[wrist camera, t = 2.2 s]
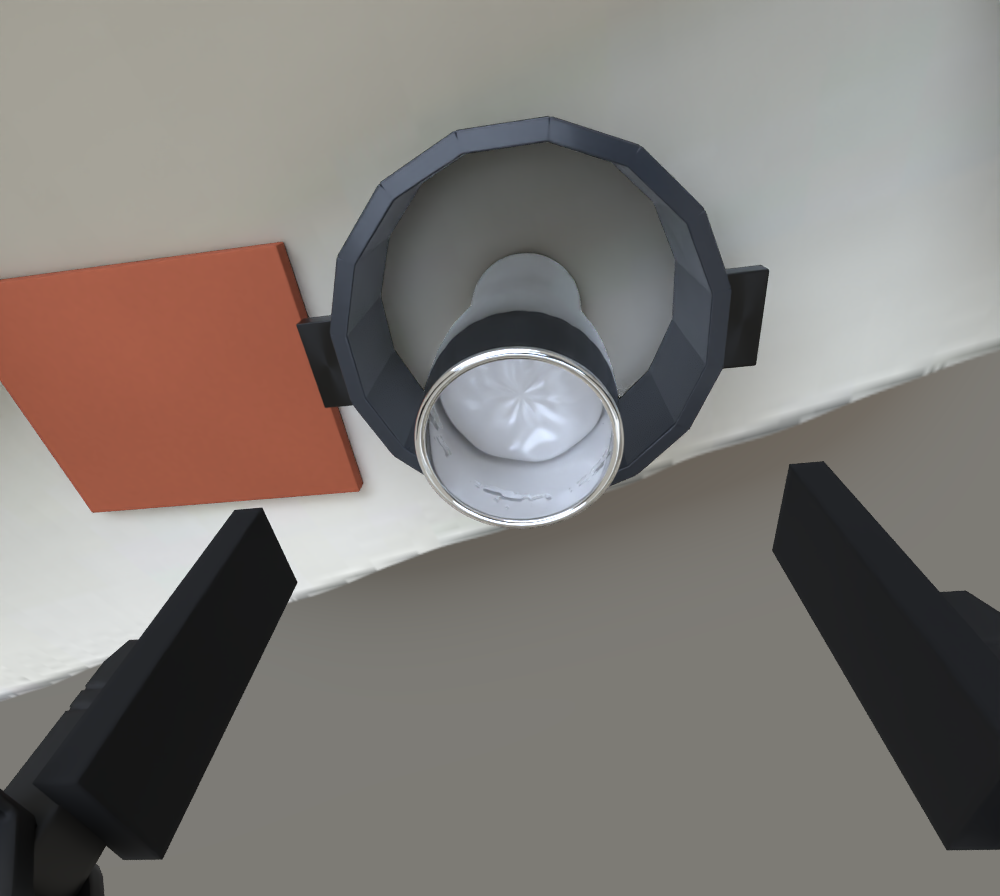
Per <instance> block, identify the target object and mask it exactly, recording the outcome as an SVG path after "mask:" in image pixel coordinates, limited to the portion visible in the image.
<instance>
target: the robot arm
mask: <svg viewBox="0 0 1000 896" xmlns="http://www.w3.org/2000/svg"><path fill="white" fill-rule="evenodd" d="M772 551H773V553H774V554H775V556H776V558H777V560H778V561H779V563H780V565H781V566H782V568H783V570H784V572H785V573H786V575H787V577H788V579H789V580H790V582H791V584H792V585H793V587H794V589H795V591H796V592H797V594H798V596H799V597H800V599H801V601H802V603H803V604H804V606H805V608H806V609H807V611H808V613H809V615H810V616H811V618H812V620H813V621H814V623H815V625H816V627H817V628H818V630H819V632H820V633H821V635H822V637H823V639H824V640H825V642H826V644H827V645H828V647H829V649H830V651H831V652H832V654H833V656H834V657H835V659H836V661H837V662H838V664H839V666H840V668H841V670H842V671H843V673H844V675H845V676H846V678H847V680H848V682H849V683H850V685H851V687H852V688H853V690H854V692H855V693H856V695H857V697H858V699H859V700H860V702H861V704H862V706H863V707H864V709H865V711H866V712H867V714H868V716H869V718H870V719H871V721H872V722H873V724H874V726H875V728H876V730H877V731H878V733H879V734H880V736H881V738H882V740H883V742H884V743H885V745H886V747H887V749H888V750H889V752H890V754H891V755H892V757H893V759H894V761H895V762H896V764H897V766H898V767H899V769H900V771H901V773H902V774H903V776H904V778H905V779H906V781H907V783H908V784H909V786H910V788H911V790H912V791H913V793H914V795H915V797H916V798H917V800H918V802H919V803H920V805H921V807H922V809H923V810H924V812H925V814H926V815H927V817H928V819H929V820H930V822H931V824H932V826H933V827H934V829H935V831H936V832H937V834H938V836H939V838H940V839H941V841H942V843H943V845H944V846H945V848H946V850H999V849H1000V612H999V611H997V610H995V609H994V608H992V607H991V606H989V605H988V604H986V603H984V602H983V601H981V600H980V599H978V598H976V597H975V596H974V595H972V594H970V593H969V592H967V591H952V592H939V591H938V590H937V589H936V587H935V586H934V585H933V584H932V583H931V582H930V581H929V580H928V579H927V577H926V576H925V575H924V574H923V573H922V572H921V571H920V569H919V568H918V567H917V566H916V565H915V564H914V563H913V562H912V560H911V559H910V558H909V557H908V556H907V555H906V554H905V553H904V551H903V550H902V549H901V548H900V547H899V546H898V545H897V544H896V542H895V541H894V540H893V539H892V538H891V537H890V536H889V535H888V533H887V532H886V531H885V530H884V529H883V528H882V527H881V525H880V524H879V523H878V522H877V521H876V520H875V519H874V518H873V516H872V515H871V514H870V513H869V512H868V511H867V510H866V509H865V507H864V506H863V505H862V504H861V503H860V502H859V501H858V500H857V498H855V496H854V495H853V494H852V493H851V492H850V491H849V489H848V488H847V487H846V486H845V485H844V484H843V483H842V482H841V480H840V479H839V478H838V477H837V476H836V475H835V474H834V473H833V471H832V470H831V469H830V468H829V467H828V466H827V465H826V464H825V463H824V461H822V462H810V463H798V464H789V470H788V474H787V479H786V484H785V489H784V494H783V499H782V504H781V509H780V514H779V519H778V524H777V529H776V534H775V540H774V544H773V549H772ZM296 585H297V580H296V578H295V576H294V574H293V572H292V570H291V568H290V565H289V563H288V561H287V559H286V557H285V555H284V553H283V551H282V549H281V546H280V544H279V542H278V540H277V538H276V536H275V534H274V532H273V529H272V527H271V525H270V523H269V521H268V519H267V517H266V515H265V512H264V510H263V508H253V509H241V510H234V512H233V513H232V514H231V516H230V517H229V518H228V520H227V521H226V522H225V524H224V525H223V526H222V528H221V529H220V530H219V532H218V533H217V534H216V536H215V537H214V539H213V540H212V541H211V543H210V544H209V545H208V547H207V548H206V549H205V551H204V552H203V553H202V555H201V556H200V557H199V559H198V560H197V561H196V563H195V564H194V566H193V567H192V568H191V570H190V571H189V572H188V574H187V575H186V576H185V578H184V579H183V580H182V582H181V583H180V584H179V586H178V587H177V588H176V590H175V591H174V593H173V594H172V595H171V597H170V598H169V599H168V601H167V602H166V603H165V605H164V606H163V607H162V609H161V610H160V611H159V613H158V614H157V615H156V617H155V618H154V620H153V621H152V622H151V624H150V625H149V626H148V628H147V629H146V630H145V632H144V633H143V634H142V636H141V637H140V638H139V640H129V641H127V642H126V643H125V644H124V645H123V646H122V647H120V648H119V649H118V650H117V651H116V652H115V653H113V654H112V655H111V656H110V657H109V658H108V659H107V660H105V661H104V662H103V664H102V665H101V666H100V668H99V669H98V670H97V672H96V673H95V674H94V675H93V677H92V678H91V679H90V680H89V682H88V683H87V684H86V689H85V690H82V691H81V692H80V693H79V695H78V696H77V697H76V698H75V700H74V701H73V702H72V704H71V705H70V710H69V711H65V713H64V714H63V715H62V717H61V718H60V719H59V720H58V722H57V723H56V724H55V726H54V727H53V728H52V729H51V731H50V732H49V733H48V735H47V736H46V737H45V739H44V740H43V741H42V742H41V744H40V745H39V746H38V748H37V749H36V750H35V751H34V753H33V754H32V755H31V757H30V758H29V759H28V761H27V762H26V763H25V765H24V766H23V767H22V768H21V769H20V771H19V772H18V773H17V775H16V776H15V777H14V779H13V780H12V781H11V782H10V784H9V785H8V786H7V787H6V789H5V790H4V791H2V790H1V789H0V896H104V885H103V876H102V873H101V870H100V868H99V866H98V865H97V864H96V862H97V861H98V859H99V857H100V855H101V854H102V852H103V850H104V848H105V847H106V846H107V847H108V848H110V849H111V850H112V851H113V852H114V853H116V854H117V855H118V856H119V857H120V858H122V859H123V860H155V859H163V857H164V855H165V853H166V851H167V849H168V847H169V845H170V843H171V841H172V838H173V837H174V834H175V832H176V830H177V828H178V826H179V824H180V822H181V820H182V818H183V816H184V814H185V812H186V810H187V808H188V806H189V804H190V802H191V800H192V798H193V796H194V794H195V792H196V789H197V787H198V785H199V783H200V781H201V779H202V777H203V775H204V773H205V771H206V769H207V767H208V765H209V763H210V761H211V758H212V757H213V755H214V752H215V750H216V748H217V746H218V744H219V742H220V740H221V738H222V736H223V734H224V732H225V730H226V728H227V726H228V724H229V722H230V720H231V717H232V716H233V714H234V711H235V710H236V707H237V705H238V703H239V701H240V699H241V697H242V695H243V693H244V691H245V689H246V687H247V685H248V683H249V681H250V679H251V677H252V675H253V673H254V671H255V669H256V667H257V664H258V662H259V660H260V658H261V656H262V654H263V652H264V650H265V648H266V646H267V644H268V642H269V640H270V638H271V636H272V634H273V632H274V630H275V627H276V626H277V623H278V621H279V619H280V617H281V615H282V613H283V611H284V609H285V607H286V605H287V603H288V601H289V599H290V597H291V595H292V593H293V591H294V589H295V587H296Z"/></svg>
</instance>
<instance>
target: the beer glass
mask: <svg viewBox="0 0 1000 896" xmlns="http://www.w3.org/2000/svg"><path fill="white" fill-rule="evenodd" d="M415 449H416V454H417V458H418V462H419V464H420V467H421V469H422V472H423V474H424V475H425V477H426V479H427V481H428V482H429V484H430V485H431V486H432V488H433V489H434V490H435V491H436V492H437V494H438V495H439V496H440V497H441V498H442V499H443V500H445V501H446V502H447V503H448V504H449V505H451V506H452V507H453V508H455V509H456V510H458V511H459V512H461V513H463V514H464V515H466V516H468V517H470V518H473V519H475V520H477V521H480V522H483V523H486V524H489V525H493V526H498V527H504V528H515V529H526V528H537V527H544V526H548V525H552V524H556V523H559V522H561V521H564V520H567V519H569V518H571V517H573V516H575V515H577V514H579V513H580V512H582V511H584V510H585V509H587V508H588V507H589V506H591V505H592V504H593V503H594V502H595V501H596V500H598V498H599V497H601V495H602V494H603V493H604V492H605V491H606V490H607V488H608V487H609V486H610V484H611V483H612V481H613V479H614V477H615V476H616V473H617V471H618V469H619V466H620V463H621V460H622V456H623V450H624V429H623V423H622V419H621V416H620V408H619V399H618V392H617V386H616V381H615V377H614V373H613V369H612V365H611V361H610V358H609V356H608V353H607V351H606V349H605V346H604V344H603V342H602V339H601V337H600V335H599V334H598V332H597V330H596V329H595V328H594V326H593V325H592V324H591V322H590V321H589V320H588V318H587V317H586V316H585V315H584V313H583V312H582V311H581V300H580V294H579V291H578V288H577V285H576V283H575V281H574V279H573V278H572V276H571V275H570V274H569V273H568V271H567V270H566V269H565V268H564V267H563V266H561V265H560V264H559V263H557V262H556V261H554V260H553V259H551V258H549V257H546V256H544V255H540V254H535V253H518V254H513V255H510V256H507V257H504V258H502V259H500V260H498V261H497V262H495V263H494V264H493V265H491V266H490V267H489V268H488V269H487V270H486V271H485V272H484V273H483V275H482V276H481V277H480V279H479V281H478V283H477V285H476V287H475V289H474V292H473V296H472V302H471V306H470V307H469V308H468V309H467V310H466V311H465V312H464V313H463V314H462V315H461V316H460V317H459V318H458V319H457V320H456V322H455V323H454V324H453V325H452V327H451V328H450V330H449V331H448V333H447V334H446V336H445V338H444V340H443V342H442V344H441V345H440V347H439V349H438V351H437V353H436V356H435V358H434V361H433V364H432V367H431V369H430V372H429V375H428V379H427V383H426V387H425V391H424V395H423V400H422V404H421V407H420V409H419V412H418V415H417V419H416V424H415Z"/></svg>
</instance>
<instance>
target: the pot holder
mask: <svg viewBox="0 0 1000 896" xmlns="http://www.w3.org/2000/svg"><path fill="white" fill-rule="evenodd" d="M303 318H308V316H307V313H306V310H305V307H304V304H303V301H302V298H301V295H300V292H299V289H298V286H297V283H296V279H295V276H294V273H293V270H292V267H291V264H290V261H289V258H288V255H287V252H286V249H285V246H284V243H283V242H277V243H270V244H262V245H255V246H248V247H240V248H233V249H225V250H218V251H210V252H203V253H196V254H188V255H181V256H173V257H166V258H158V259H151V260H144V261H136V262H129V263H121V264H114V265H106V266H99V267H92V268H84V269H77V270H69V271H62V272H54V273H47V274H40V275H32V276H25V277H17V278H10V279H2V280H0V381H1V382H2V384H3V385H4V387H5V388H6V390H7V391H8V392H9V394H10V395H11V397H12V398H13V400H14V401H15V402H16V404H17V405H18V407H19V408H20V410H21V411H22V412H23V414H24V415H25V417H26V418H27V420H28V421H29V422H30V424H31V425H32V427H33V428H34V430H35V431H36V433H37V434H38V435H39V437H40V438H41V440H42V441H43V443H44V444H45V445H46V447H47V448H48V450H49V451H50V453H51V454H52V455H53V457H54V458H55V460H56V461H57V463H58V464H59V466H60V467H61V468H62V470H63V471H64V473H65V474H66V476H67V477H68V478H69V480H70V481H71V483H72V484H73V486H74V487H75V488H76V490H77V491H78V493H79V494H80V496H81V497H82V498H83V500H84V501H85V503H86V504H87V506H88V507H89V509H90V510H91V511H92V512H93V513H95V512H108V511H121V510H133V509H146V508H158V507H171V506H183V505H196V504H208V503H221V502H233V501H246V500H258V499H271V498H283V497H296V496H308V495H321V494H334V493H346V492H359V491H360V489H361V487H362V484H363V482H362V479H361V476H360V473H359V470H358V467H357V463H356V460H355V457H354V454H353V451H352V448H351V445H350V442H349V439H348V436H347V433H346V430H345V427H344V424H343V421H342V418H341V415H340V412H339V409H338V407H330V408H325V407H324V404H323V401H322V398H321V395H320V393H319V390H318V387H317V384H316V381H315V378H314V375H313V372H312V369H311V367H310V364H309V361H308V358H307V355H306V352H305V349H304V346H303V344H302V341H301V338H300V335H299V332H298V329H297V326H296V324H297V323H298V322H300V321H301V320H302V319H303Z"/></svg>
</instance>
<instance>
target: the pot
mask: <svg viewBox="0 0 1000 896" xmlns="http://www.w3.org/2000/svg"><path fill="white" fill-rule="evenodd" d="M543 142H549V143H552V144H556V145H559V146H562V147H565V148H568V149H571V150H574V151H578V152H581V153H584V154H587V155H590V156H593V157H596V158H600V159H603V160H606V161H609V162H612V163H613V164H614V165H615V166H616V167H617V168H618V169H619V170H620V171H621V172H622V173H623V174H624V175H625V176H626V177H627V178H628V179H629V180H630V181H631V182H632V183H634V184H635V185H636V186H637V187H638V188H639V189H640V190H641V191H642V192H643V193H644V194H645V195H646V196H647V197H648V198H649V199H650V200H651V201H652V202H653V203H654V206H655V208H656V211H657V214H658V216H659V219H660V221H661V224H662V227H663V229H664V232H665V235H666V237H667V240H668V242H669V245H670V248H671V250H672V253H673V255H674V258H675V276H674V297H673V318H672V321H671V323H670V325H669V327H668V329H667V332H666V334H665V336H664V338H663V340H662V342H661V345H660V347H659V349H658V351H657V353H656V355H655V358H654V360H653V362H652V364H651V366H650V368H649V370H648V371H647V372H646V373H645V374H644V375H643V376H642V377H641V378H640V379H639V380H638V381H637V382H636V383H635V384H634V385H633V386H632V387H631V388H630V389H629V390H628V391H627V392H626V393H625V394H624V395H623V396H622V397H621V398H620V399H619V408H620V416H621V419H622V423H623V429H624V450H623V456H622V460H621V463H620V466H619V469H618V471H617V473H616V476H615V477H614V479H613V481H612V483H611V484H610V486H611V485H614V484H616V483H619V482H621V481H624V480H626V479H628V478H631V477H633V476H635V475H636V474H638V473H640V472H641V471H642V470H643V469H644V468H645V467H647V466H648V465H649V464H650V463H651V462H652V461H653V460H655V459H656V458H657V457H658V456H659V455H660V454H661V453H663V452H664V451H665V450H666V449H667V448H668V447H670V446H671V445H672V444H673V443H674V442H675V441H676V440H678V439H679V438H680V437H681V436H682V435H683V434H684V433H686V432H687V431H688V430H689V429H690V427H691V425H692V424H693V422H694V420H695V418H696V416H697V414H698V413H699V411H700V409H701V407H702V405H703V403H704V402H705V400H706V398H707V396H708V394H709V392H710V391H711V389H712V387H713V385H714V383H715V381H716V380H717V378H718V376H719V374H720V372H721V370H722V369H724V368H734V367H744V366H754V365H756V361H757V354H758V346H759V339H760V332H761V325H762V318H763V311H764V304H765V297H766V290H767V283H768V276H769V269H767V268H766V267H764V266H762V265H756V266H748V267H739V268H731V269H725V267H724V264H723V261H722V258H721V255H720V252H719V249H718V246H717V244H716V241H715V238H714V235H713V232H712V229H711V226H710V223H709V220H708V217H707V214H706V211H705V210H704V208H703V207H702V206H701V205H700V204H699V203H698V202H697V201H696V200H695V199H694V198H693V197H692V196H691V195H690V194H689V193H688V192H687V191H686V190H685V189H684V188H683V187H682V186H681V185H680V184H679V183H678V182H677V181H676V180H675V179H674V178H673V177H672V176H671V175H670V174H669V173H668V172H667V171H666V170H665V169H664V168H663V167H662V166H661V165H660V164H659V163H658V162H657V161H656V160H655V159H654V158H653V157H652V156H651V155H650V154H649V153H648V152H647V151H646V150H645V149H644V148H643V147H642V146H640V145H639V144H636V143H633V142H629V141H626V140H623V139H620V138H617V137H614V136H611V135H608V134H605V133H602V132H599V131H596V130H592V129H589V128H586V127H583V126H580V125H577V124H574V123H571V122H568V121H565V120H562V119H558V118H555V117H549V116H545V117H539V118H532V119H526V120H519V121H513V122H506V123H499V124H493V125H486V126H480V127H473V128H467V129H460V130H456V131H453V132H452V133H450V134H449V135H447V136H446V137H445V138H443V139H442V140H440V141H439V142H437V143H436V144H434V145H433V146H432V147H430V148H429V149H427V150H426V151H424V152H423V153H422V154H420V155H419V156H417V157H416V158H414V159H413V160H411V161H410V162H409V163H407V164H406V165H404V166H403V167H401V168H400V169H398V170H397V171H396V172H394V173H393V174H391V175H390V176H388V177H387V178H386V179H384V180H383V181H381V182H380V184H379V185H378V186H377V188H376V189H375V191H374V193H373V195H372V196H371V198H370V200H369V202H368V203H367V205H366V207H365V209H364V210H363V212H362V214H361V216H360V217H359V219H358V221H357V223H356V224H355V226H354V228H353V230H352V231H351V233H350V235H349V237H348V238H347V240H346V242H345V244H344V245H343V247H342V249H341V251H340V252H339V254H338V257H337V260H336V271H335V282H334V292H333V303H332V313H331V315H329V316H320V317H312V318H303V319H302V320H301V321H300V322H298V323H297V324H296V326H297V329H298V332H299V335H300V338H301V341H302V344H303V346H304V349H305V352H306V355H307V358H308V361H309V364H310V367H311V369H312V372H313V375H314V378H315V381H316V384H317V387H318V390H319V393H320V395H321V398H322V401H323V404H324V407H325V408H330V407H340V406H350V405H353V406H354V407H355V408H356V410H357V411H358V412H359V413H360V415H361V416H362V417H363V418H364V420H365V421H366V422H367V423H368V425H369V426H370V427H371V428H372V430H373V431H374V432H375V433H376V435H377V436H378V437H379V438H380V440H381V441H382V442H383V443H384V445H385V446H386V447H387V448H388V450H389V451H390V452H391V453H392V455H394V456H395V457H396V458H398V459H399V460H401V461H403V462H404V463H406V464H407V465H409V466H411V467H412V468H414V469H415V470H417V471H419V472H420V473H422V474H423V472H422V469H421V467H420V464H419V462H418V458H417V454H416V449H415V424H416V419H417V415H418V412H419V409H420V407H421V404H422V400H423V395H424V391H423V389H422V388H421V387H420V385H419V384H418V382H417V381H416V380H415V378H414V377H413V375H412V374H411V373H410V371H409V370H408V368H407V367H406V365H405V364H404V363H403V361H402V360H401V358H400V357H399V356H398V354H397V353H396V351H395V350H394V347H393V343H392V339H391V335H390V331H389V327H388V323H387V319H386V315H385V311H384V307H383V303H382V299H381V290H382V283H383V276H384V269H385V262H386V255H387V249H388V242H389V237H390V235H391V233H392V232H393V230H394V228H395V227H396V225H397V224H398V222H399V220H400V219H401V217H402V215H403V214H404V212H405V211H406V209H407V207H408V206H409V204H410V202H411V201H412V199H413V198H414V196H415V194H416V193H417V191H418V189H419V188H420V186H421V185H422V183H424V182H425V181H427V180H428V179H430V178H431V177H433V176H434V175H436V174H437V173H439V172H440V171H442V170H443V169H445V168H446V167H448V166H449V165H451V164H452V163H454V162H455V161H457V160H458V159H460V158H461V157H462V156H464V155H465V154H469V153H476V152H483V151H489V150H496V149H503V148H510V147H516V146H523V145H530V144H537V143H543ZM423 475H424V474H423Z"/></svg>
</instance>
